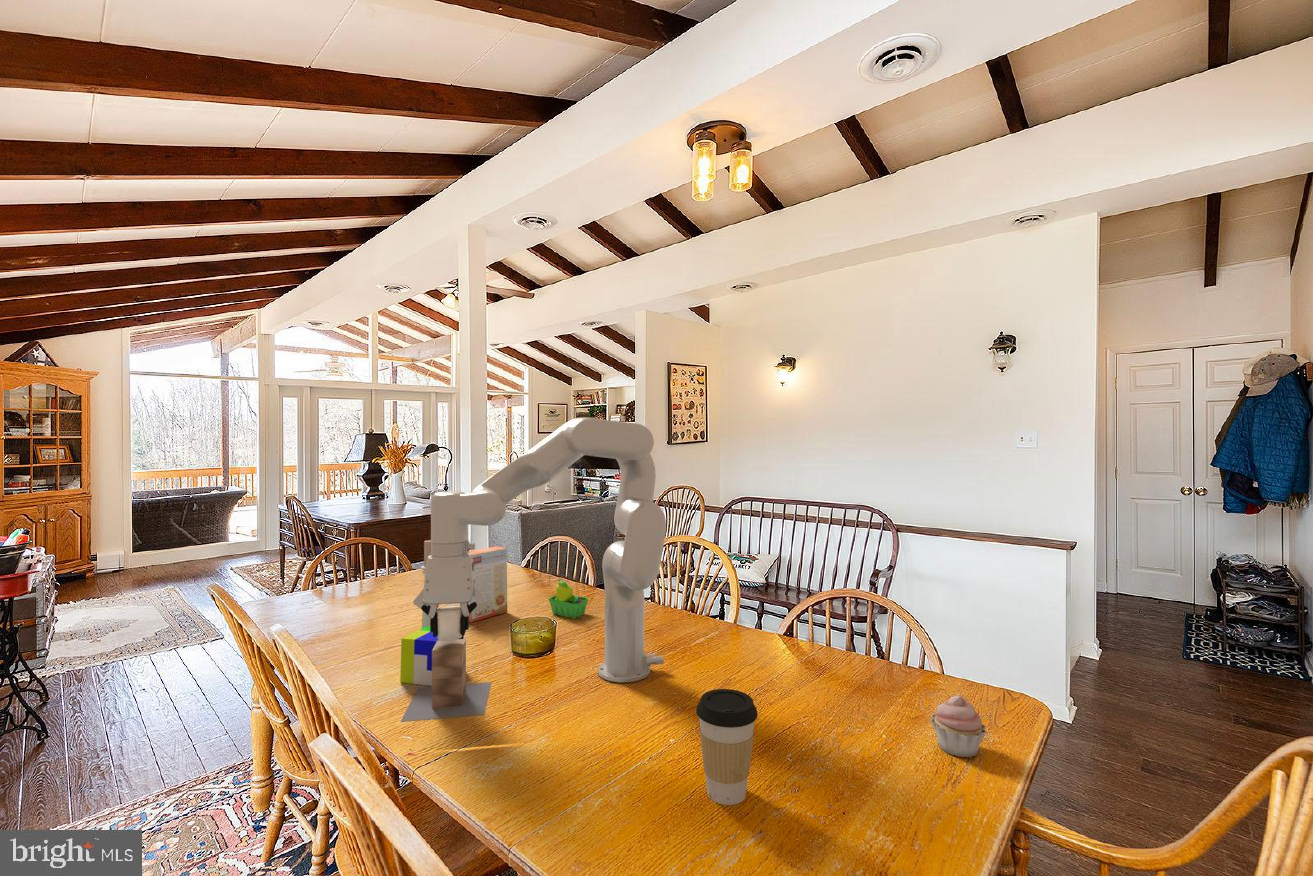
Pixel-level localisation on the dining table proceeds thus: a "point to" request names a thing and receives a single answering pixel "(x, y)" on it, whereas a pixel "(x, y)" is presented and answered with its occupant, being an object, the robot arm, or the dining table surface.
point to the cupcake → (958, 727)
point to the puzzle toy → (418, 657)
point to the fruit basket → (567, 602)
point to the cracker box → (490, 582)
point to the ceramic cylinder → (449, 623)
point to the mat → (471, 707)
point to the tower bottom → (448, 691)
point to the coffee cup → (726, 743)
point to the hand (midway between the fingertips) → (449, 633)
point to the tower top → (449, 659)
